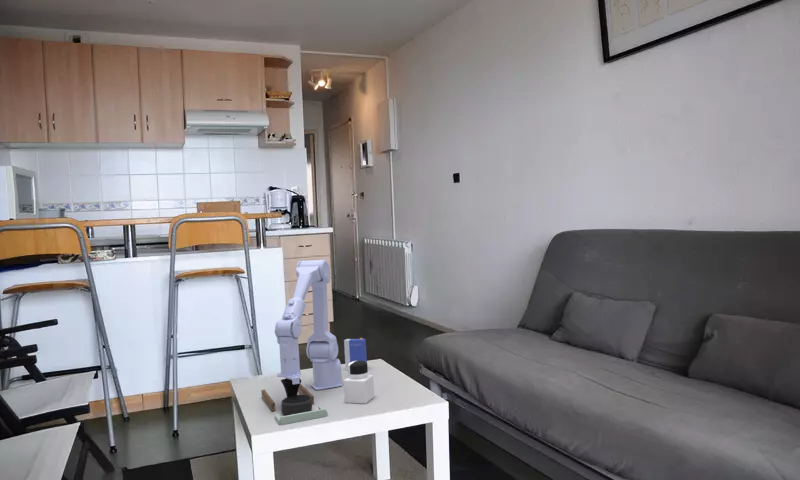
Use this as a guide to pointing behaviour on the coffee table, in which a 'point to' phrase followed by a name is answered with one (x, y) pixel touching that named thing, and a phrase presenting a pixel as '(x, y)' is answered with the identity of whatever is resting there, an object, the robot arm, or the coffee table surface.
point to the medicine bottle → (358, 383)
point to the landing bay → (301, 416)
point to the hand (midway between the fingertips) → (292, 402)
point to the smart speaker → (296, 404)
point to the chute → (271, 403)
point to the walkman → (355, 350)
